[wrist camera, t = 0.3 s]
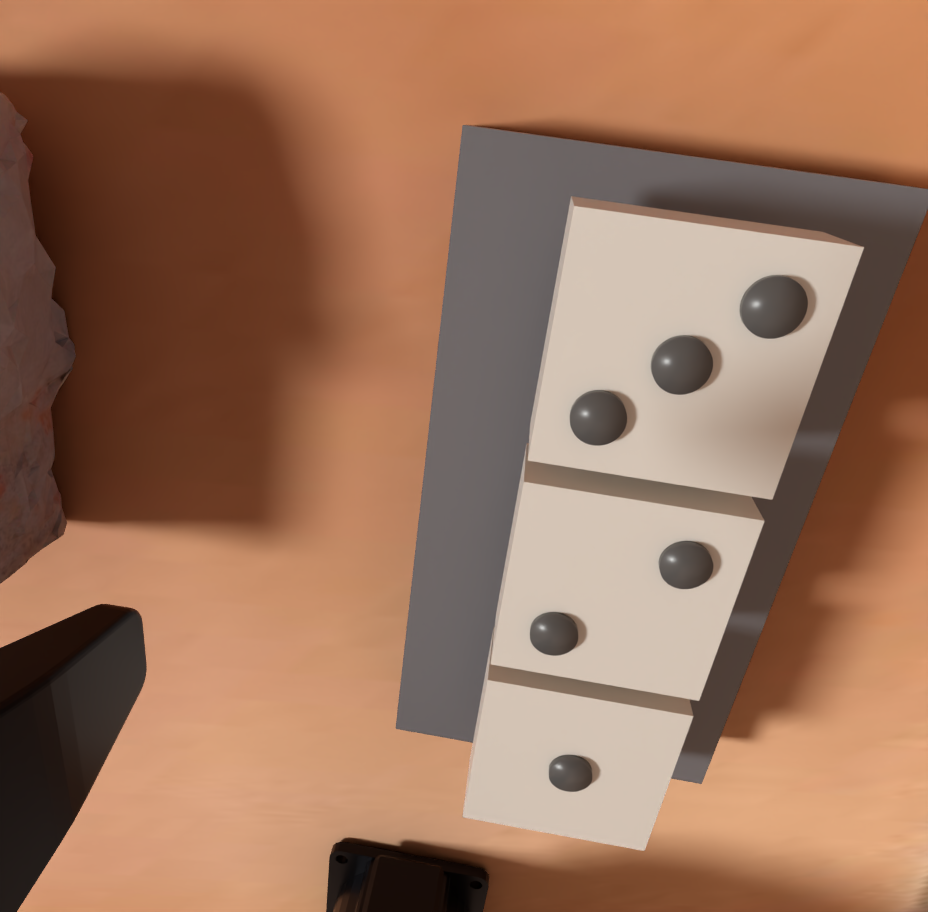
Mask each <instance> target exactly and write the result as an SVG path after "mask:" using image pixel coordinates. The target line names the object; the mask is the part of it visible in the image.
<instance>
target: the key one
mask: <svg viewBox="0 0 928 912" xmlns="http://www.w3.org/2000/svg"><path fill="white" fill-rule="evenodd" d="M494 628H495V627H494ZM494 628H493V633H492V639H491V644H490V650H489V656H488V661H487V667H486V672H485V678H484V683H483V689H482V694H481V700H480V706H479V711H478V717H477V722H476V728H475V733H474V739H473V745H472V750H471V756H470V763H469V770H468V778H467V786H466V794H465V802H464V810H463V817H464V818H469V819H475V820H480V821H486V822H491V823H496V824H502V825H507V826H513V827H518V828H523V829H529V830H534V831H539V832H545V833H550V834H556V835H561V836H566V837H572V838H577V839H582V840H588V841H593V842H599V843H604V844H609V845H615V846H620V847H625V848H631V849H636V850H642V851H645V848H646V845H647V843H648V840H649V837H650V834H651V832H652V829H653V826H654V823H655V821H656V818H657V815H658V812H659V810H660V807H661V804H662V801H663V799H664V796H665V793H666V790H667V788H668V785H669V782H670V779H671V777H672V774H673V771H674V768H675V766H676V763H677V760H678V757H679V755H680V752H681V749H682V746H683V744H684V741H685V738H686V735H687V733H688V730H689V727H690V724H691V722H692V719H693V712H692V708H691V704H690V700H689V699H686V698H680V697H674V696H669V695H663V694H657V693H652V692H646V691H640V690H634V689H629V688H623V687H617V686H612V685H606V684H600V683H594V682H589V681H583V680H577V679H572V678H566V677H560V676H554V675H549V674H543V673H537V672H532V671H526V670H520V669H514V668H509V667H503V666H497V665H492V664H491V655H492V646H493V637H494Z"/></svg>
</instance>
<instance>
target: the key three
mask: <svg viewBox="0 0 928 912" xmlns="http://www.w3.org/2000/svg"><path fill="white" fill-rule="evenodd" d="M863 249H864V247H862V246H859V245H857V244H854V243H851V242H849V241H846V240H843V239H841V238H838V237H835V236H833V235H830V234H827V233H825V232H820V231H813V230H806V229H799V228H792V227H785V226H778V225H771V224H764V223H757V222H750V221H743V220H736V219H728V218H721V217H714V216H707V215H700V214H693V213H686V212H679V211H672V210H665V209H658V208H651V207H644V206H637V205H630V204H623V203H616V202H609V201H602V200H595V199H588V198H581V197H574V196H571V199H570V205H569V211H568V216H567V222H566V227H565V233H564V238H563V244H562V249H561V255H560V261H559V266H558V272H557V277H556V283H555V288H554V294H553V300H552V305H551V311H550V316H549V322H548V327H547V333H546V338H545V344H544V350H543V355H542V361H541V366H540V372H539V377H538V383H537V389H536V394H535V400H534V405H533V411H532V416H531V422H530V434H529V449H528V461H534V462H540V463H546V464H552V465H559V466H565V467H571V468H577V469H584V470H590V471H596V472H602V473H609V474H615V475H621V476H627V477H633V478H640V479H646V480H652V481H658V482H665V483H671V484H677V485H683V486H689V487H696V488H702V489H708V490H714V491H721V492H727V493H733V494H739V495H746V496H752V497H758V498H764V499H770V500H772V499H773V496H774V494H775V491H776V488H777V485H778V483H779V480H780V477H781V474H782V472H783V469H784V466H785V463H786V461H787V458H788V455H789V452H790V450H791V447H792V444H793V441H794V439H795V436H796V433H797V430H798V428H799V425H800V422H801V419H802V417H803V414H804V411H805V408H806V406H807V403H808V400H809V397H810V395H811V392H812V389H813V386H814V384H815V381H816V378H817V375H818V373H819V370H820V367H821V364H822V362H823V359H824V356H825V353H826V351H827V348H828V345H829V342H830V340H831V337H832V334H833V331H834V329H835V326H836V323H837V320H838V318H839V315H840V312H841V310H842V307H843V304H844V301H845V299H846V296H847V293H848V290H849V288H850V285H851V282H852V279H853V277H854V274H855V271H856V268H857V266H858V263H859V260H860V257H861V255H862V252H863Z"/></svg>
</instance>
